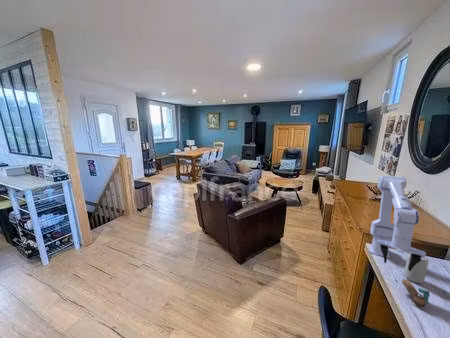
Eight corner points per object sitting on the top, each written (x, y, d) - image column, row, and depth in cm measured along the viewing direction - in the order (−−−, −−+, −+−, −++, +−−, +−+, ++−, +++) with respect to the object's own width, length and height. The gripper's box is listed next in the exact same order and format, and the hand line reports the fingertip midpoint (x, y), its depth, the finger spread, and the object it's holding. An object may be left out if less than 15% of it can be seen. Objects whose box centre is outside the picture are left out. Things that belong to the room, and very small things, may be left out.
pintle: (411, 299, 73) (413, 289, 73) (424, 304, 71) (426, 294, 70) (412, 305, 71) (414, 295, 70) (425, 311, 68) (428, 301, 68)
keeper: (417, 297, 74) (419, 287, 73) (426, 301, 72) (429, 291, 72) (417, 299, 73) (419, 290, 72) (427, 303, 71) (429, 293, 71)
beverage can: (428, 285, 80) (433, 261, 78) (410, 283, 81) (415, 259, 79) (416, 274, 86) (421, 251, 84) (400, 272, 87) (404, 250, 85)
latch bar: (426, 308, 69) (428, 302, 68) (415, 305, 70) (416, 299, 69) (409, 285, 79) (410, 279, 79) (400, 283, 81) (401, 277, 80)
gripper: (379, 234, 78) (375, 263, 81) (429, 247, 69) (422, 279, 71) (379, 228, 83) (375, 255, 86) (426, 239, 74) (420, 269, 77)
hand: (396, 265), depth 79 cm, fingers open, 7 cm apart
